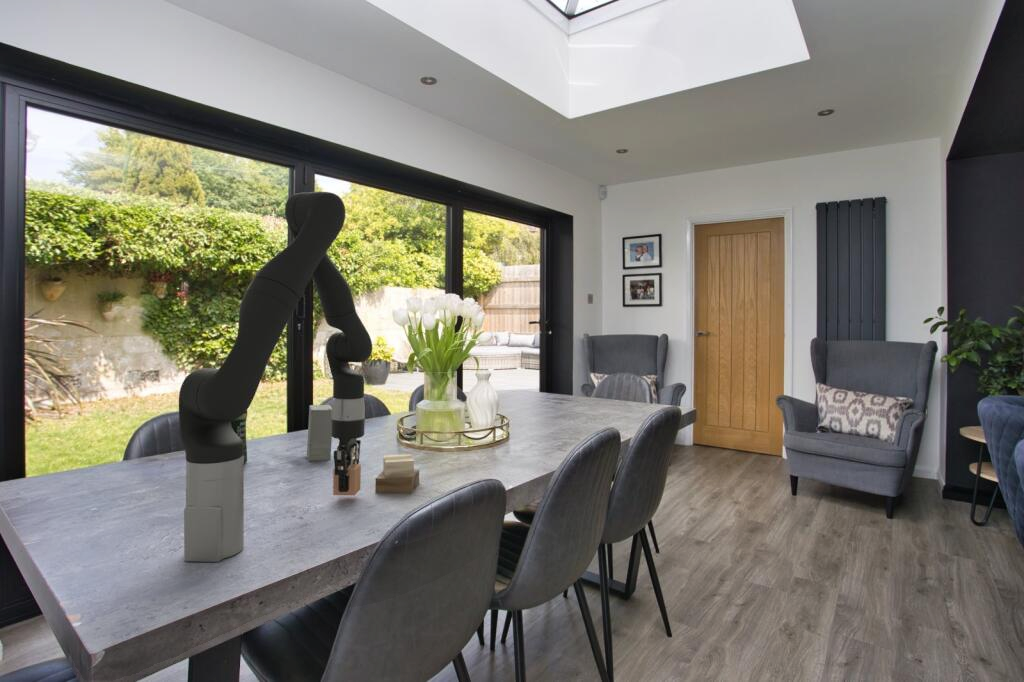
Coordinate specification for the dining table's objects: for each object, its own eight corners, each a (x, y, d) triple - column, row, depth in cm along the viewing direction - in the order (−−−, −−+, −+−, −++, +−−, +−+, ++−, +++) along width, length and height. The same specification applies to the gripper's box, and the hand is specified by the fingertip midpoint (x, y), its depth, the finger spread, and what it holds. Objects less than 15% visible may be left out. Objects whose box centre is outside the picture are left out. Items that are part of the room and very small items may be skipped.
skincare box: (306, 455, 172) (306, 405, 171) (330, 453, 175) (330, 403, 174) (308, 462, 164) (308, 409, 163) (333, 459, 167) (334, 407, 166)
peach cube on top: (354, 495, 129) (355, 469, 128) (333, 494, 129) (333, 469, 128) (360, 489, 134) (360, 464, 133) (339, 488, 134) (340, 463, 133)
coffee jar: (232, 471, 153) (232, 404, 152) (205, 469, 154) (205, 403, 153) (252, 462, 163) (252, 399, 162) (227, 461, 164) (227, 398, 163)
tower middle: (413, 476, 138) (413, 460, 138) (385, 478, 136) (385, 462, 136) (410, 469, 145) (410, 454, 145) (383, 470, 143) (383, 455, 143)
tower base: (411, 495, 136) (411, 479, 136) (375, 494, 136) (375, 478, 136) (419, 484, 145) (419, 469, 145) (385, 483, 145) (385, 468, 145)
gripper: (355, 422, 124) (354, 497, 124) (371, 412, 138) (370, 480, 138) (322, 421, 124) (321, 497, 124) (341, 411, 138) (340, 479, 138)
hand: (347, 487), depth 131 cm, fingers closed on peach cube on top, 5 cm apart
